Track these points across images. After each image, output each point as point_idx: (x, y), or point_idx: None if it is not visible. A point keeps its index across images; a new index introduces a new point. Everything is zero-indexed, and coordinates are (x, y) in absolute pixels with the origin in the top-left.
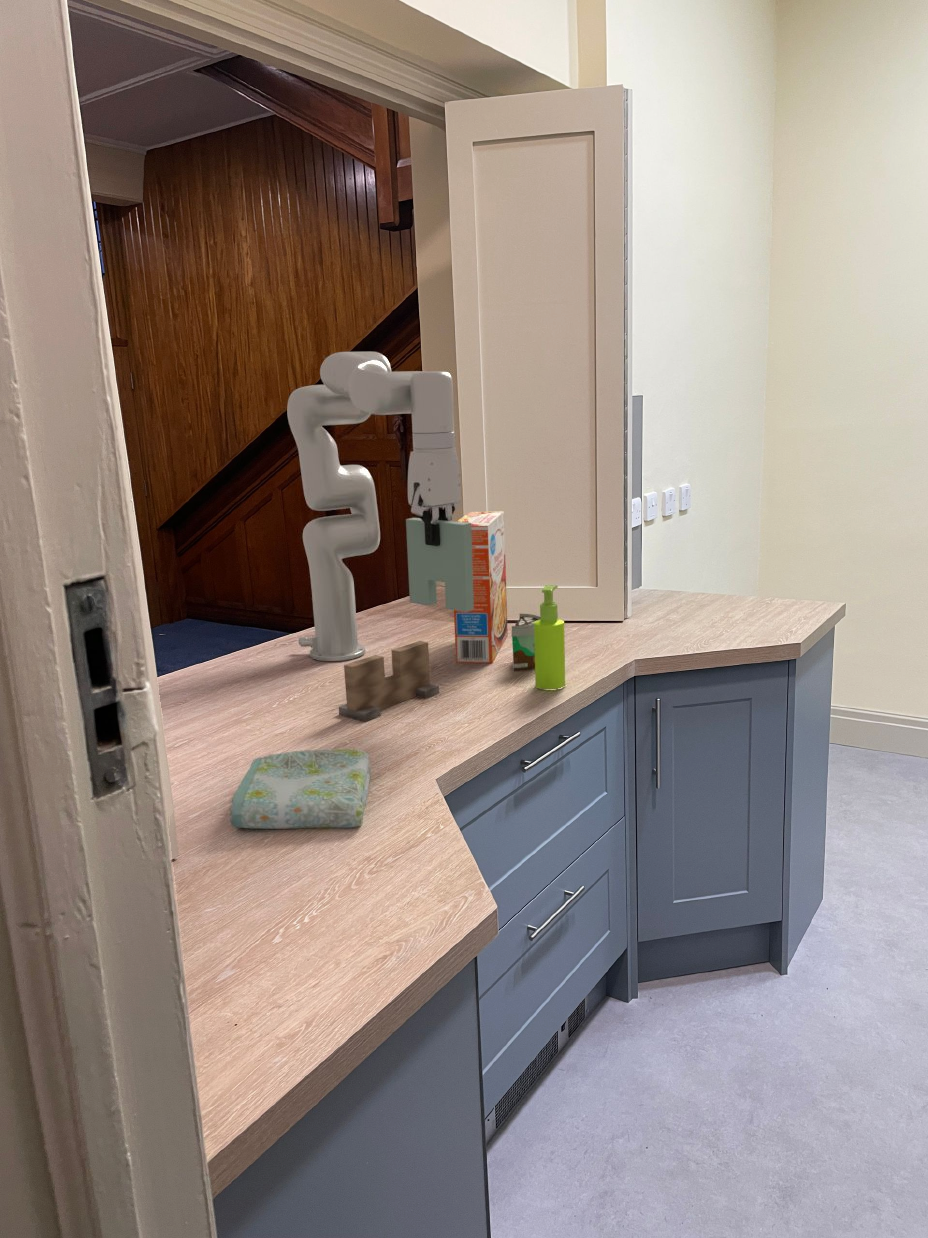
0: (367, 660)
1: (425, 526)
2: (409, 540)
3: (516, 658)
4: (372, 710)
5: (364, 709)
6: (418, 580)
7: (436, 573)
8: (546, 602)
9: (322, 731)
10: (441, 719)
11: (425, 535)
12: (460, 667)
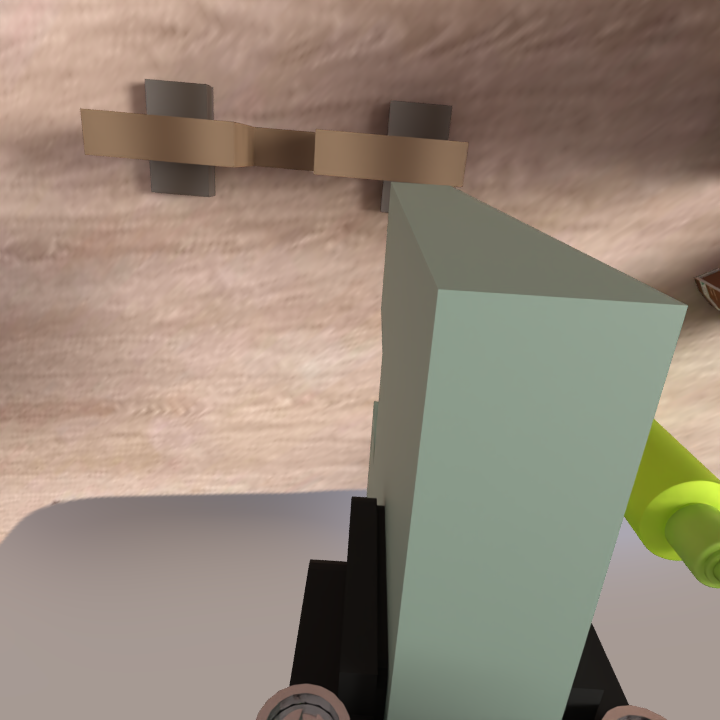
0: (168, 147)
1: (293, 680)
2: (407, 267)
3: (716, 296)
4: (183, 192)
5: (174, 166)
6: (388, 275)
7: (377, 437)
8: (716, 573)
9: (48, 141)
10: (281, 339)
11: (348, 555)
12: (684, 107)
